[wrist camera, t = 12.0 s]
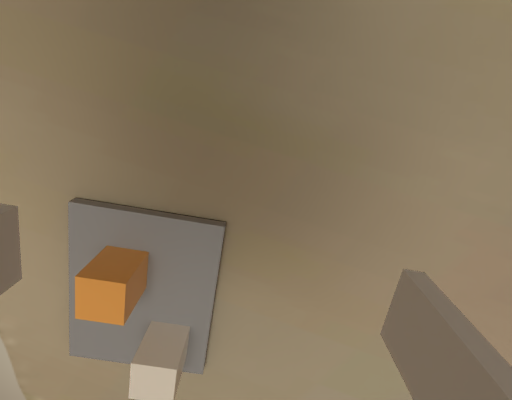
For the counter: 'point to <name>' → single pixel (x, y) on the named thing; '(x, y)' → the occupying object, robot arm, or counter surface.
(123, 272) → the orange rectangular block
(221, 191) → the counter surface
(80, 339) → the plate
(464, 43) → the counter surface
